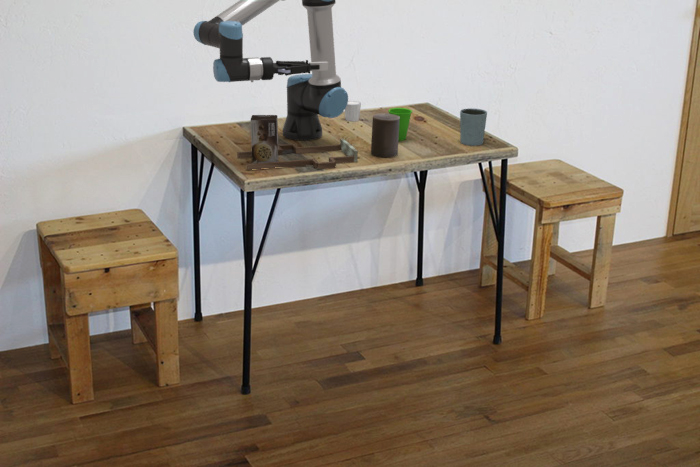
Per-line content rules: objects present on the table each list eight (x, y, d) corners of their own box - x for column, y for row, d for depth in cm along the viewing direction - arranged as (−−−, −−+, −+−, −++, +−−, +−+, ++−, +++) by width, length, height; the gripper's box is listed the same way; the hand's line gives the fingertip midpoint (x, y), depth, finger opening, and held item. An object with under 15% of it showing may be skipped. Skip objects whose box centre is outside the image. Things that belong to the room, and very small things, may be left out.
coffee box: (278, 159, 318) (278, 114, 312) (277, 165, 312) (277, 119, 306) (252, 159, 318) (251, 114, 312) (251, 165, 312) (250, 119, 306)
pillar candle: (375, 158, 322) (377, 117, 317) (367, 150, 331) (369, 110, 325) (401, 157, 325) (404, 116, 319) (392, 149, 334) (395, 109, 328)
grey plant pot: (469, 147, 337) (472, 116, 333) (452, 140, 345) (454, 109, 341) (490, 143, 343) (493, 112, 338) (472, 137, 350) (475, 106, 346)
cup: (409, 143, 341) (410, 114, 337) (385, 141, 342) (386, 112, 338) (412, 136, 349) (413, 108, 345) (389, 134, 351) (390, 106, 347)
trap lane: (234, 153, 323) (234, 142, 322) (339, 145, 336) (339, 135, 334) (250, 175, 302) (250, 163, 301) (361, 165, 314) (362, 154, 313)
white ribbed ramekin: (363, 119, 371) (364, 102, 369) (354, 122, 366) (355, 105, 363) (349, 116, 375) (349, 99, 372) (340, 120, 369) (340, 103, 367)
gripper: (255, 75, 312) (321, 72, 319) (265, 84, 300) (333, 80, 308) (255, 53, 309) (321, 51, 316) (265, 61, 297) (333, 58, 305)
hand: (327, 65), depth 312 cm, fingers closed
